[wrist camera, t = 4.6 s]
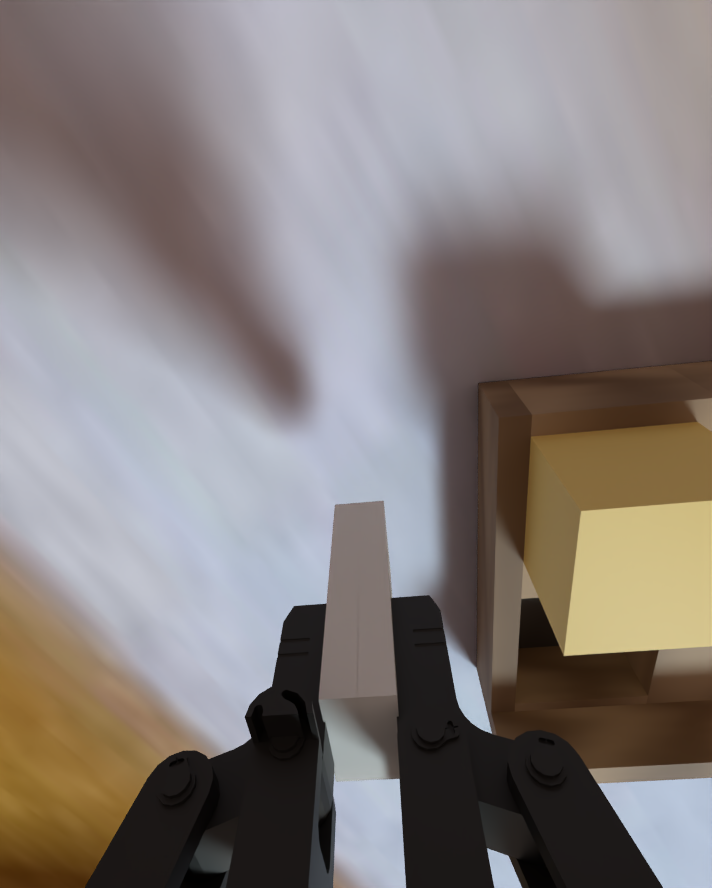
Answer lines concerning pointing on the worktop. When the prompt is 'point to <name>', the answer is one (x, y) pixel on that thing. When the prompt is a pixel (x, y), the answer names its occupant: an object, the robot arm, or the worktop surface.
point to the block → (622, 537)
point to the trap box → (522, 615)
